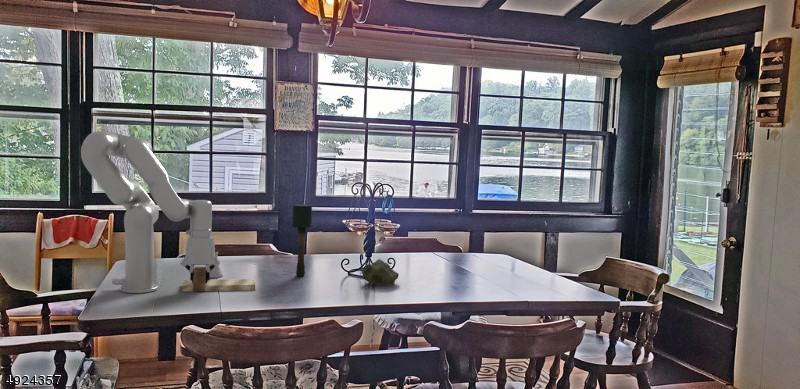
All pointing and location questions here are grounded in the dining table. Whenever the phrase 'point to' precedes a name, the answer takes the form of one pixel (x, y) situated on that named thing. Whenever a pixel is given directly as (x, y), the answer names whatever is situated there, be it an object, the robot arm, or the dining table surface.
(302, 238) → the potato masher grenade
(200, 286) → the brown wooden block
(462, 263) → the dining table surface
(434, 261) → the dining table surface
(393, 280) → the decorative rock
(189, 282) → the board
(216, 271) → the flask
